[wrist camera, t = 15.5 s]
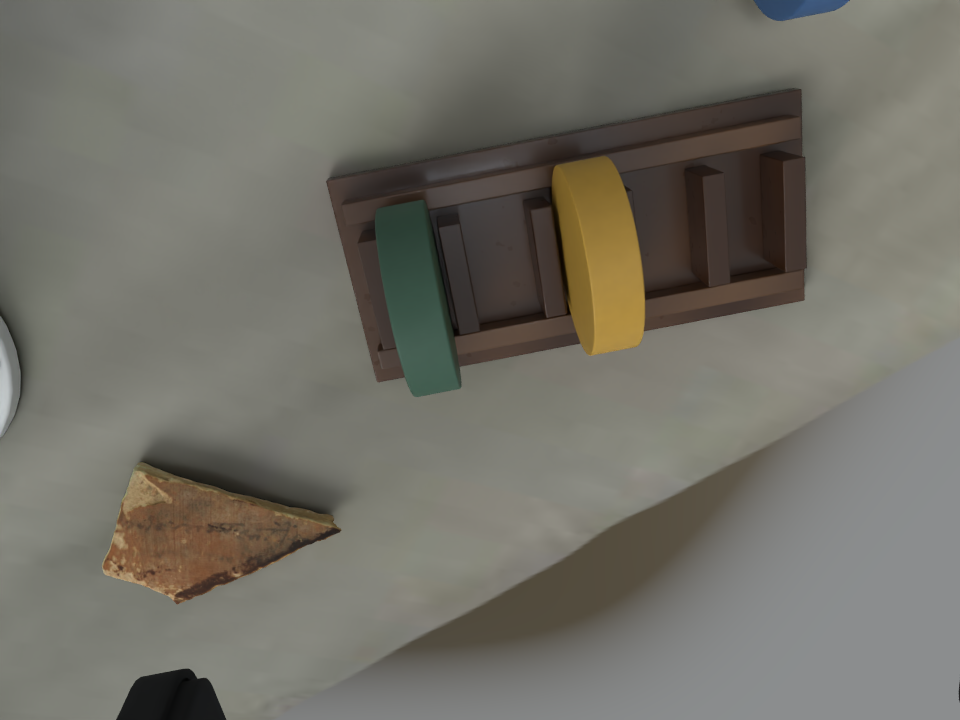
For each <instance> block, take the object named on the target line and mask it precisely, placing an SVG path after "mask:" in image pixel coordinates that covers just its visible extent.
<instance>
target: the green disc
mask: <svg viewBox="0 0 960 720" xmlns="http://www.w3.org/2000/svg"><path fill="white" fill-rule="evenodd" d="M375 231H376V242H377V250H378V258H379V264H380V271H381V277H382V282H383V288H384V293H385V298H386V304H387V309H388V313H389V318H390V323H391V327H392V331H393V336H394V340H395V344H396V348H397V352H398V355H399V359H400V363H401V366H402V369H403V373H404V376H405V379H406V381H407V384H408V387H409V389H410V391H411V393H412V394H413V396H415V397H420V396H425V395H430V394H435V393H440V392H446V391H451V390H456V389H460V388H461V375H460V368H459V361H458V355H457V349H456V343H455V337H454V332H453V326H452V321H451V315H450V310H449V305H448V299H447V294H446V289H445V284H444V279H443V274H442V269H441V264H440V260H439V255H438V250H437V246H436V241H435V237H434V232H433V228H432V223H431V219H430V215H429V211H428V208H427V205H426V202H425V200H418V201H413V202H408V203H402V204H397V205H392V206H387V207H382V208H378V209H377V210H376V214H375Z"/></svg>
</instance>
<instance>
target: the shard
mask: <svg viewBox="0 0 960 720" xmlns="http://www.w3.org/2000/svg"><path fill="white" fill-rule="evenodd" d="M333 521H334V518H333V516H332V515H329V514H318V513H315V512H313V511H310V510H306V509H302V508H294V507H291V508H290V507H288V506H284V505H281V504H278V503H272V502H269V501H268V500H262V499H258V498H254V497H251V496H245V495H240V494H236V493H231V492H227V491H225V490H223V489H220V488H218V487H215V486H211V485H207V484H203V483H198V482H194V481H191V480H189V479H185V478H182V477H179V476H175V475H173V474H170V473H167V472H164V471H162V470H160V469H157V468H153V467H152V466H150V465H148V464H146V463H143V462H140V463H138V464H137V466H136V467H135V468H134V470H133V473H132V476H131V478H130V482H129V486H128V488H127V491H126V494H125V496H124V498H123V499H122V503H121V508H120V511H119V515H118V518H117V526H116V530H115V532H114V536H113V538H112V543H111V546H110V549H109V551H108V553H107V555H106V556H105V558H104V561H103V564H102V568H103V572H104V574H106V575H108V576H111V577H114V578H117V579H122V580H125V581H130V582H132V583H136V584H141V585H143V586H145V587H149V588H151V589H153V590H155V591H157V592H160V593H162V594H164V595H167V596H169V597H170V598H171V599H172V600H173V601H174V602H175V603H176V604H179V603H182V602H184V601H186V600H190V599H192V598H194V597H195V596H199V595H203V594H205V593H207V592H209V591H211V590H212V589H214V588H215V587H217V586H219V585H225V584H228V583H230V582H232V581H234V580H236V579H238V578H241V577H243V576H246V575H249V574H252V573H254V572H256V571H258V570H260V569H261V568H264V567H267V566H268V565H270V564H272V563H275V562H277V561H279V560H280V559H282V558H284V557H286V556H288V555H290V554H292V553H294V552H295V551H297V550H298V549H300V548H302V547H304V546H306V545H309V544H312V543H314V542H316V541H321V540H324V539H327V538H328V537H330V536H332V535H334V534H336V533H339V532H340V531H341V529H340V528H338V527H337V526H336V525H335V524H334V523H333Z"/></svg>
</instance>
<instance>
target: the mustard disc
mask: <svg viewBox="0 0 960 720" xmlns="http://www.w3.org/2000/svg"><path fill="white" fill-rule="evenodd" d="M552 208H553V216H554V223H555V230H556V237H557V244H558V251H559V258H560V265H561V272H562V278H563V283H564V287H565V292H566V296H567V300H568V304H569V308H570V312H571V316H572V319H573V323H574V326H575V329H576V332H577V335H578V338H579V340H580V343H581V345H582V347H583V349H584V350H585V352H586V353H587V354H588V355H590V356H591V355H596V354H601V353H607V352H612V351H617V350H622V349H628V348H633V347H637V346H638V345H639V344H640V342H641V340H642V337H643V332H644V326H645V289H644V277H643V268H642V261H641V254H640V248H639V242H638V237H637V232H636V227H635V223H634V218H633V214H632V210H631V207H630V203H629V200H628V196H627V193H626V190H625V187H624V185H623V182H622V179H621V177H620V175H619V173H618V171H617V169H616V167H615V165H614V164H613V162H612V161H611V160H610V159H609V158H608V157H606V156H600V157H595V158H590V159H585V160H579V161H574V162H569V163H564V164H559V165H556V166H555V167H554V170H553V175H552Z"/></svg>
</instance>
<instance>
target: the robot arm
mask: <svg viewBox="0 0 960 720" xmlns="http://www.w3.org/2000/svg"><path fill="white" fill-rule="evenodd" d="M20 382H21V371H20V366H19V361H18V356H17V350H16V347H15V345H14V342H13V340H12V337H11V335H10V333H9V330H8V328H7V325H6V324H5V322H4V321H3V319H2V318H1V316H0V438H1V437H2V436H3V435H4V434H5V432H6V430H7V428H8V427H9V425H10V423H11V421H12V419H13V417H14V416H15V412H16V409H17V405H18V401H19V397H20ZM959 701H960V684H959ZM116 720H226V718H225V715H224V713H223V711H222V708H221V706H220V703H219V701H218V699H217V696H216V694H215V691H214V689H213V687H212V685H211V683H210V681H209V680H208V679H207V678H200V679H197V677H196V676H195V674H194V672H193V671H191V670H190V669H180V670H175V671H170V672H165V673H159V674H154V675H149V676H144V677H140V678H139V679H137V680H136V681H135V683H134V684H133V686H132V687H131V689H130V691H129V694H128V696H127V698H126V700H125V702H124V704H123V707H122V709H121V711H120V713H119V715H118V717H117V719H116Z"/></svg>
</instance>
